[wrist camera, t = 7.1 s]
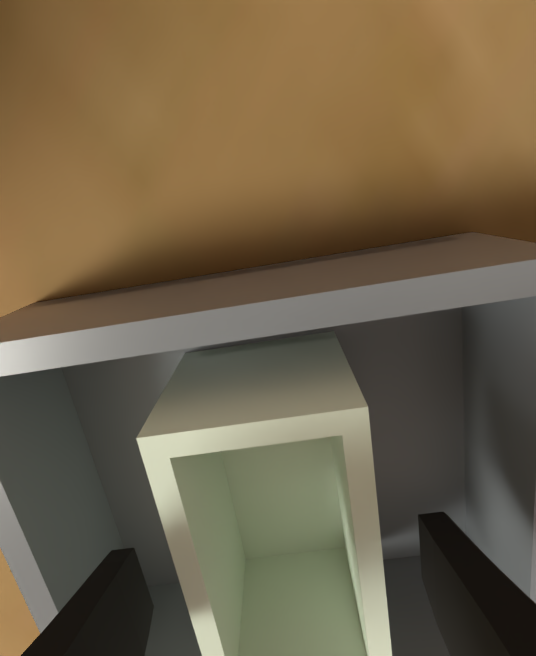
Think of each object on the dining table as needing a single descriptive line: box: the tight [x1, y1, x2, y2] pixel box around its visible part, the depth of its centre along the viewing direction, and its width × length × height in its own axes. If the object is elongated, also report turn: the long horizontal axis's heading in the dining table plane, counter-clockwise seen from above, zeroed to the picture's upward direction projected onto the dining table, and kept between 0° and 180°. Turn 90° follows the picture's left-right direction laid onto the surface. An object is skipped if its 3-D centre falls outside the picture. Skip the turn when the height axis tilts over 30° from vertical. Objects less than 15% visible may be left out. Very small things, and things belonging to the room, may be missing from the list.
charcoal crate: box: [0, 232, 536, 656], centre depth 13 cm, size 15×13×5 cm
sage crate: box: [136, 331, 392, 656], centre depth 12 cm, size 5×9×5 cm, turn 9°
